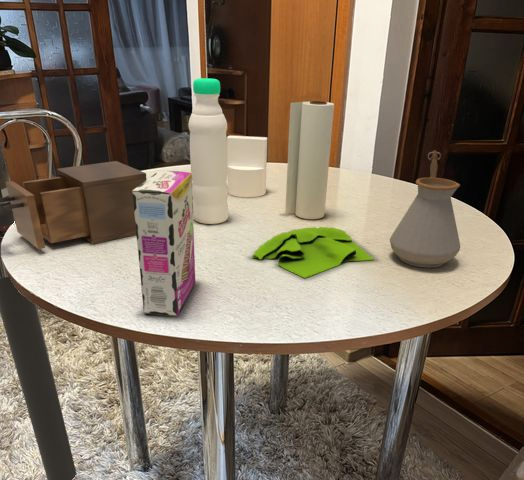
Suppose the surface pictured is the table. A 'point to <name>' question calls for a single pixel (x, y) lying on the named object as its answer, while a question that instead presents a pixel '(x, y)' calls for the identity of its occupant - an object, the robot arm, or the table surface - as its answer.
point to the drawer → (47, 210)
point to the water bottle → (208, 154)
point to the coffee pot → (428, 223)
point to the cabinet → (107, 198)
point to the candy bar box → (165, 241)
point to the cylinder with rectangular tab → (246, 165)
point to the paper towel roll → (308, 158)
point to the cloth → (311, 250)
